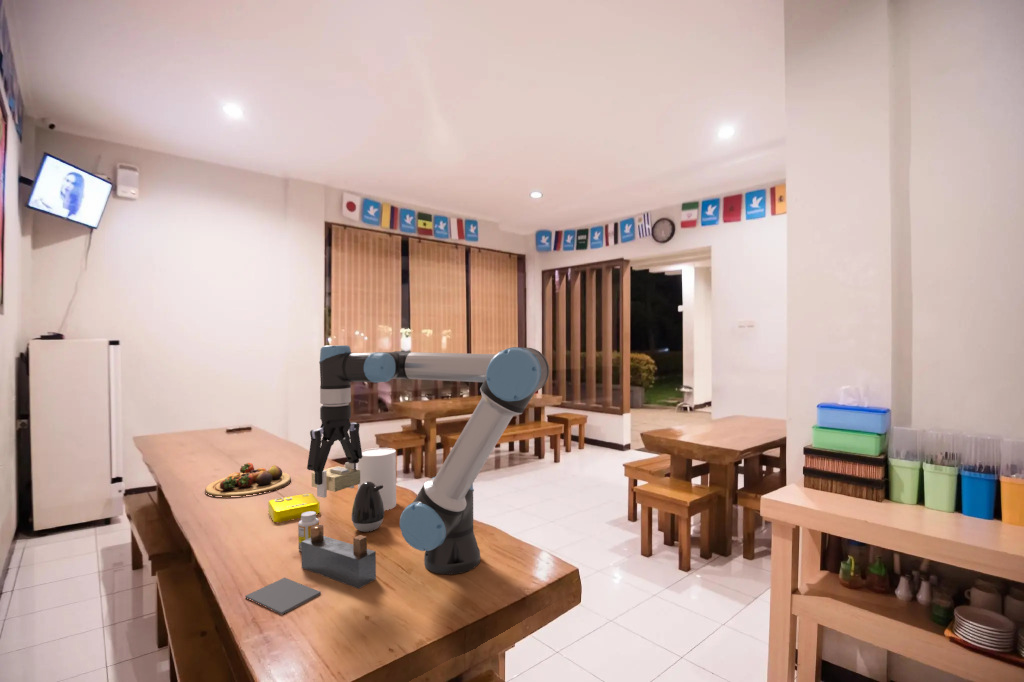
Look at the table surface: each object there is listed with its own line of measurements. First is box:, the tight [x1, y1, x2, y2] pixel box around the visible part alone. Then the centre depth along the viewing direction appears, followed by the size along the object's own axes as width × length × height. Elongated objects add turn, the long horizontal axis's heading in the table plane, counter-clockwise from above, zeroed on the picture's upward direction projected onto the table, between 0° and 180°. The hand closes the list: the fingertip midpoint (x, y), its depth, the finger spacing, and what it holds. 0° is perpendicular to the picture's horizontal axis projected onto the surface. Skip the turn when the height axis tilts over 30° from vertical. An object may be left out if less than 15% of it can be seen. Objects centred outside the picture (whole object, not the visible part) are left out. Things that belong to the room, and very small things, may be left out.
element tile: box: [267, 492, 321, 523], centre depth 169 cm, size 15×15×5 cm
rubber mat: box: [244, 577, 322, 616], centre depth 112 cm, size 14×10×1 cm
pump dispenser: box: [351, 482, 385, 533], centre depth 153 cm, size 10×10×15 cm
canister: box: [357, 447, 397, 512], centre depth 174 cm, size 14×14×20 cm
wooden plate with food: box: [204, 462, 292, 497], centre depth 201 cm, size 32×32×8 cm
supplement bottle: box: [297, 511, 320, 552], centre depth 138 cm, size 6×6×10 cm
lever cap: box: [311, 465, 360, 493], centre depth 123 cm, size 9×8×4 cm
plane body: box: [301, 524, 377, 589], centre depth 123 cm, size 22×6×11 cm, turn 59°
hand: (336, 491), depth 123 cm, fingers closed on lever cap, 8 cm apart
